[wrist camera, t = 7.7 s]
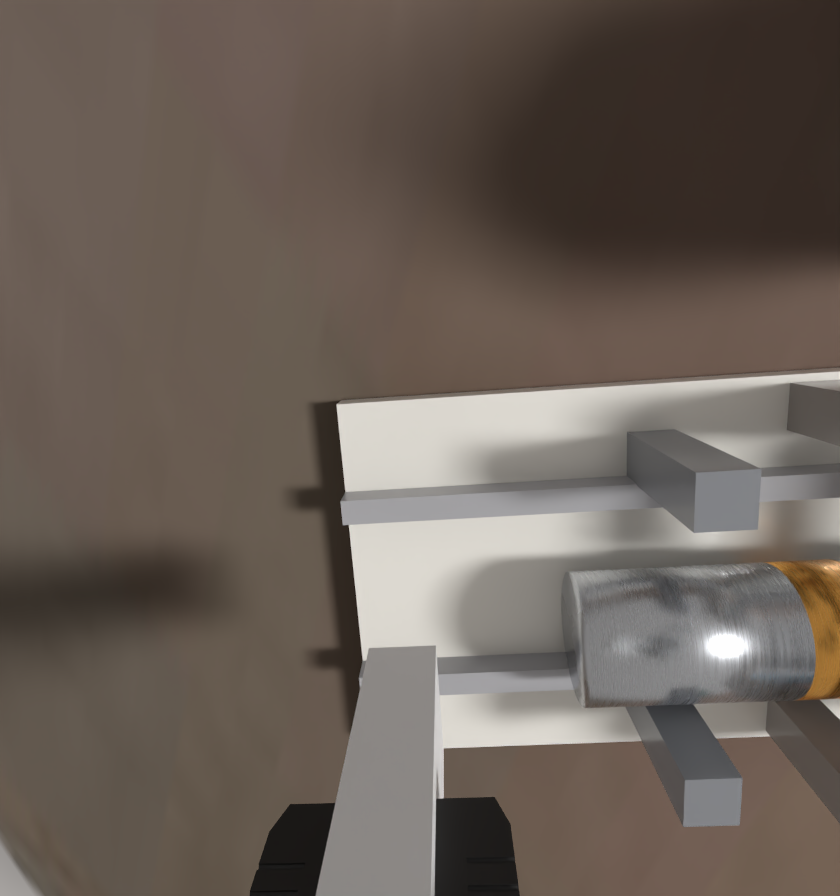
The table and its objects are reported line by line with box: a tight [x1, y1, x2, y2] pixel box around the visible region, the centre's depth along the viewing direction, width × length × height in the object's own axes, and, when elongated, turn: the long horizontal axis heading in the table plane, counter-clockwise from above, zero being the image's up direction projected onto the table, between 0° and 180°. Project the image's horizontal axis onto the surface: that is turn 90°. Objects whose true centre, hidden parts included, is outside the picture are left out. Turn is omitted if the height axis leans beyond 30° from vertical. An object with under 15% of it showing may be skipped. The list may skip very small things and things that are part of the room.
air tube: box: [561, 559, 840, 708], centre depth 17 cm, size 14×4×4 cm, turn 94°
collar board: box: [336, 367, 840, 827], centre depth 17 cm, size 13×24×7 cm, turn 94°
